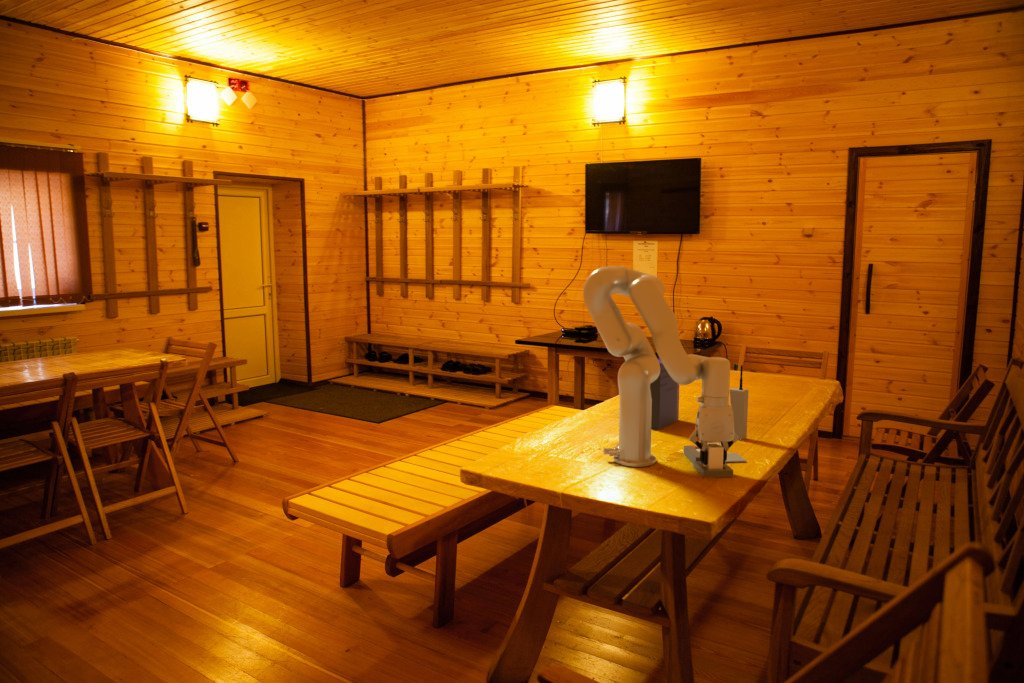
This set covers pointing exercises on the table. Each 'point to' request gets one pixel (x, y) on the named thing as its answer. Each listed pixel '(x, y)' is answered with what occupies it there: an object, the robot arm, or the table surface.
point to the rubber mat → (734, 458)
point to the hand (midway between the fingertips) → (713, 462)
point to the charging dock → (694, 457)
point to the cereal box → (664, 400)
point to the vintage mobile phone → (740, 408)
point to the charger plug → (714, 456)
